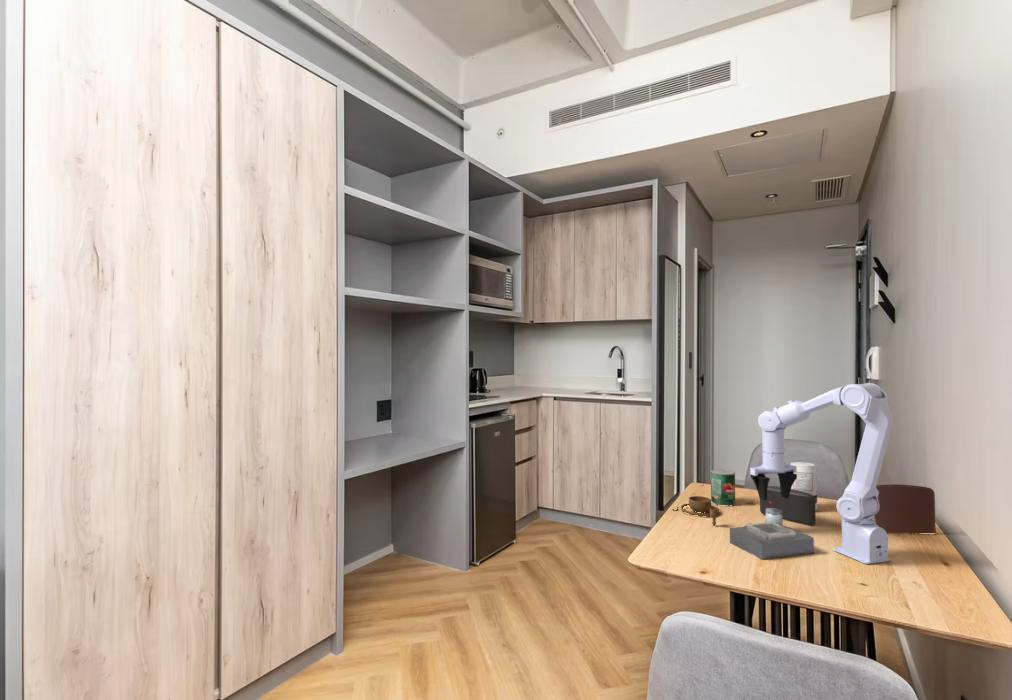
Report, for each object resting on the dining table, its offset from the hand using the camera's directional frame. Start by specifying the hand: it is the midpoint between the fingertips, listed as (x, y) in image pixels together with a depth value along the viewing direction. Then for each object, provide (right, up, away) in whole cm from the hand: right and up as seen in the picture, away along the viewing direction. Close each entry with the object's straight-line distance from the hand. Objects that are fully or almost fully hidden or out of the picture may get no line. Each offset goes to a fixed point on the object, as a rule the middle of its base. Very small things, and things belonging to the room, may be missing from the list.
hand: (773, 498), depth 150 cm
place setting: (-17, -11, +15) cm, 25 cm away
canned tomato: (-3, -10, +28) cm, 30 cm away
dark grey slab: (+9, -10, +9) cm, 16 cm away
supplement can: (+20, -10, +21) cm, 31 cm away
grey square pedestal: (-9, -9, -12) cm, 17 cm away
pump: (0, -9, 0) cm, 9 cm away
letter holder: (+35, -10, +1) cm, 36 cm away
